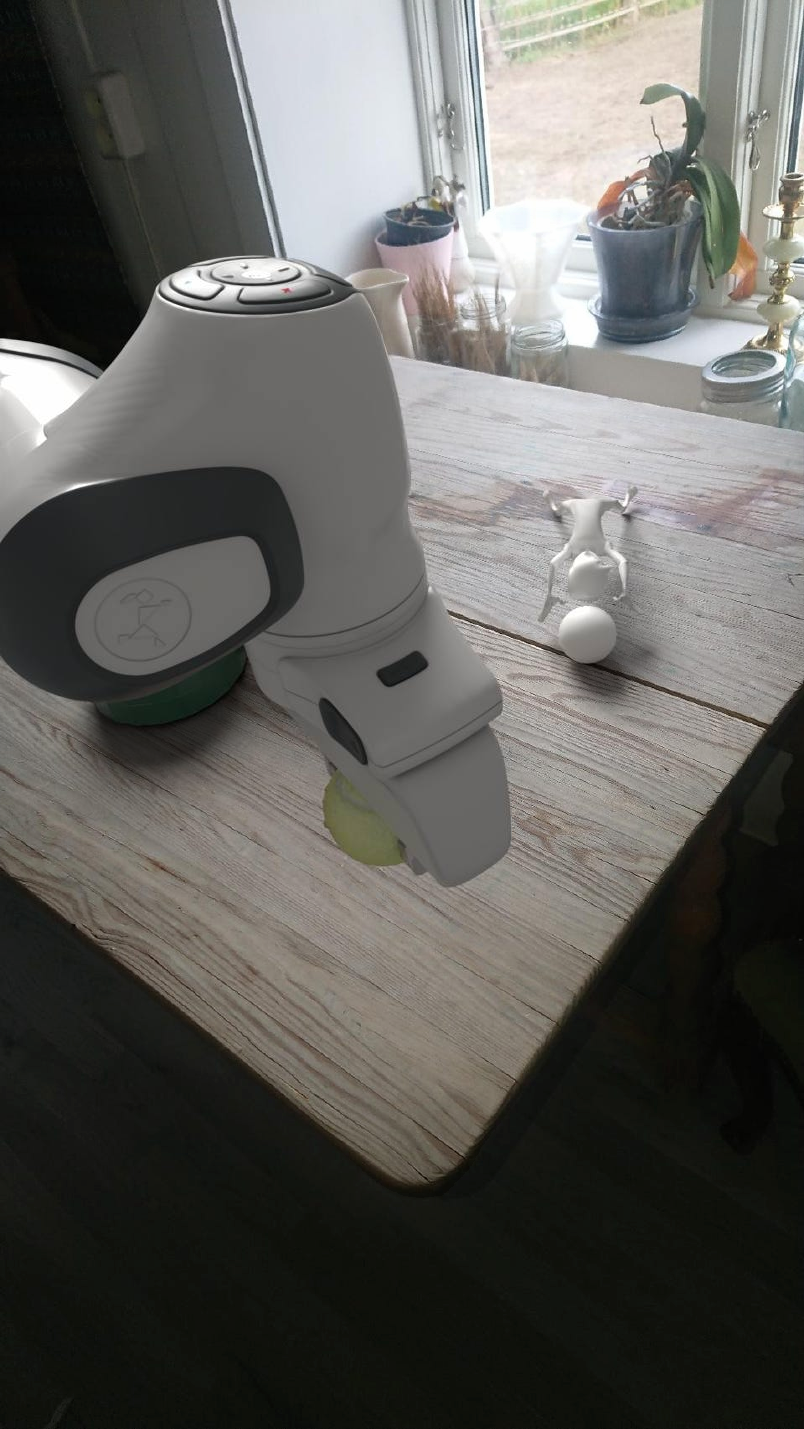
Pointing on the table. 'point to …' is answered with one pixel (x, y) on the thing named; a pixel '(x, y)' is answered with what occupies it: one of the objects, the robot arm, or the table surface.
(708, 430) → the table surface
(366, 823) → the tennis ball
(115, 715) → the bowl
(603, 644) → the figurine
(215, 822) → the table surface
